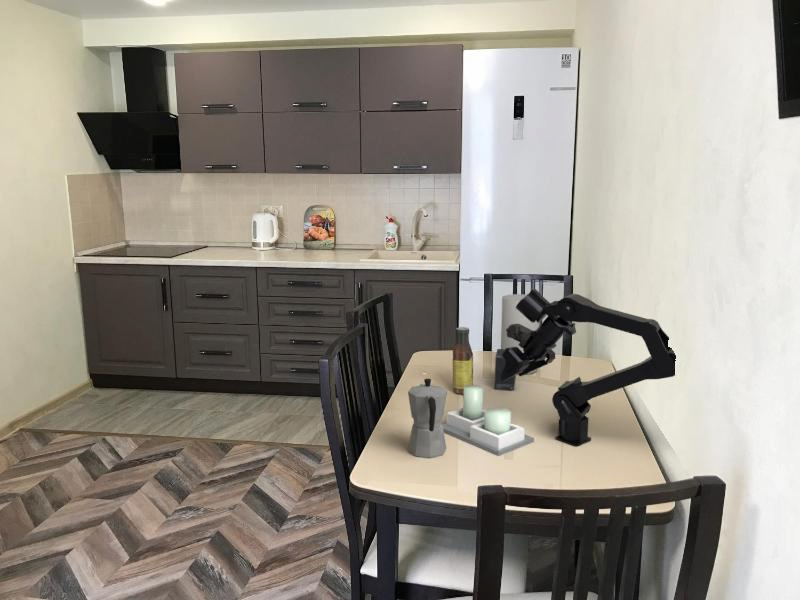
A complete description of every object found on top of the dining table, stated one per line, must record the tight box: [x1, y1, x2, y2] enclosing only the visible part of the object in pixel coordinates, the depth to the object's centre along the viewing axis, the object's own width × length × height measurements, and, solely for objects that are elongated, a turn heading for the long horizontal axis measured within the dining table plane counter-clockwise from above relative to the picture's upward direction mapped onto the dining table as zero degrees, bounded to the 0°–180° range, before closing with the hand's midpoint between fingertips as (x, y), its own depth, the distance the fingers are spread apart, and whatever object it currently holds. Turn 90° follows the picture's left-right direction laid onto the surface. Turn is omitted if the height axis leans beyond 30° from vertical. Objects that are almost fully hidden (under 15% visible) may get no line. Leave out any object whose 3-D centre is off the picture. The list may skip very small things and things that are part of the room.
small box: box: [493, 348, 517, 391], centre depth 205 cm, size 11×6×10 cm, turn 168°
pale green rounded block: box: [462, 384, 484, 421], centre depth 169 cm, size 5×5×10 cm
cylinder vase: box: [500, 293, 540, 375], centre depth 219 cm, size 12×12×25 cm
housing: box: [442, 406, 535, 457], centre depth 165 cm, size 21×13×8 cm, turn 40°
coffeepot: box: [407, 378, 448, 459], centre depth 154 cm, size 15×9×18 cm, turn 6°
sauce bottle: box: [452, 326, 474, 395], centre depth 197 cm, size 6×6×20 cm
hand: (510, 377), depth 169 cm, fingers open, 9 cm apart
